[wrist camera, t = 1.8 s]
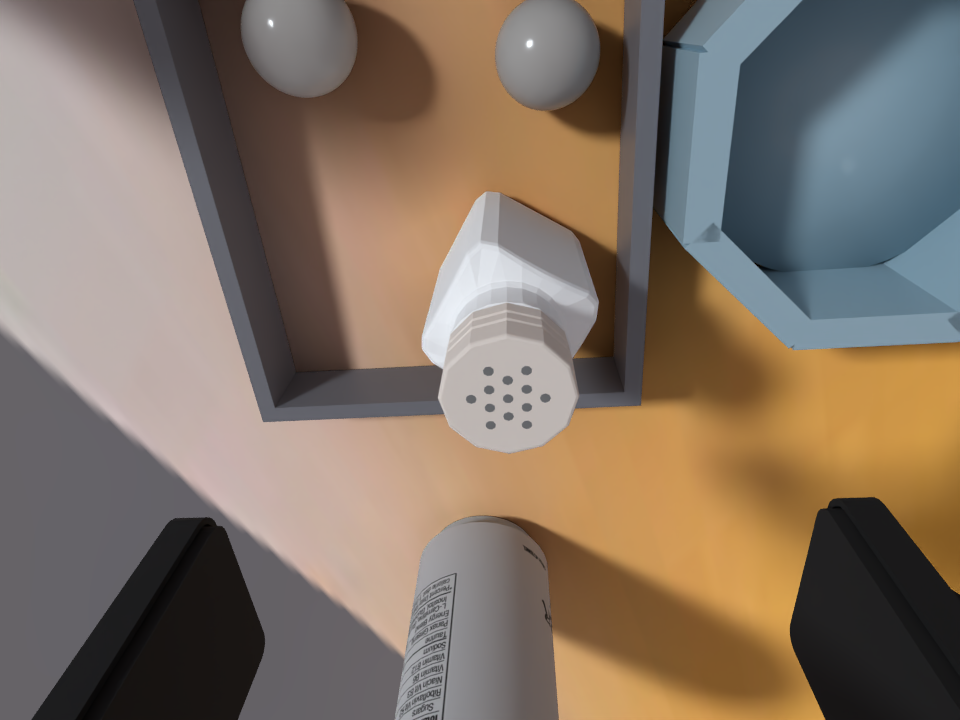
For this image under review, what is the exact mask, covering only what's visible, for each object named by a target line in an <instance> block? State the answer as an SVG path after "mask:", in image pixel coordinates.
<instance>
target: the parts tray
mask: <svg viewBox="0 0 960 720" xmlns="http://www.w3.org/2000/svg"><path fill="white" fill-rule="evenodd" d="M133 1H134V4H135V7H136V11H137V14H138V17H139V20H140V24H141V27H142V30H143V33H144V37H145V40H146V43H147V46H148V50H149V53H150V56H151V59H152V63H153V66H154V69H155V72H156V76H157V79H158V82H159V85H160V89H161V92H162V95H163V98H164V102H165V105H166V108H167V111H168V115H169V118H170V121H171V124H172V128H173V131H174V134H175V137H176V141H177V144H178V147H179V150H180V154H181V157H182V160H183V163H184V167H185V170H186V173H187V176H188V180H189V183H190V186H191V189H192V192H193V196H194V199H195V202H196V205H197V209H198V212H199V215H200V218H201V222H202V225H203V228H204V231H205V235H206V238H207V241H208V244H209V248H210V251H211V254H212V257H213V261H214V264H215V267H216V270H217V274H218V277H219V280H220V283H221V287H222V290H223V293H224V296H225V300H226V303H227V306H228V309H229V313H230V316H231V319H232V322H233V326H234V329H235V332H236V335H237V339H238V342H239V345H240V348H241V352H242V355H243V358H244V361H245V365H246V368H247V371H248V374H249V377H250V381H251V384H252V387H253V390H254V394H255V397H256V400H257V403H258V407H259V410H260V413H261V416H262V420H263V422H276V421H298V420H321V419H344V418H366V417H389V416H412V415H435V414H444V412H443V409H442V407H441V404H440V402H439V400H438V394H439V389H440V383H441V378H442V372H443V369H442V368H440V367H439V366H437V365H436V366H415V367H395V368H375V369H355V370H335V371H315V372H296V370H295V367H294V363H293V359H292V355H291V351H290V348H289V344H288V340H287V336H286V332H285V329H284V325H283V321H282V317H281V313H280V310H279V306H278V302H277V298H276V294H275V291H274V287H273V283H272V279H271V275H270V272H269V268H268V264H267V260H266V256H265V253H264V249H263V245H262V241H261V237H260V234H259V230H258V226H257V222H256V218H255V215H254V211H253V207H252V203H251V199H250V196H249V192H248V188H247V184H246V181H245V177H244V173H243V169H242V165H241V162H240V158H239V154H238V150H237V146H236V143H235V139H234V135H233V131H232V127H231V124H230V120H229V116H228V112H227V108H226V105H225V101H224V97H223V93H222V89H221V86H220V82H219V78H218V74H217V70H216V67H215V63H214V59H213V55H212V51H211V48H210V44H209V40H208V36H207V32H206V29H205V25H204V21H203V17H202V13H201V10H200V6H199V2H198V0H133ZM664 9H665V0H625V7H624V39H623V70H622V102H621V134H620V165H619V197H618V228H617V260H616V292H615V323H614V355H613V357H596V358H576V359H572V360H573V365H574V370H575V375H576V381H577V386H578V391H579V398H578V401H577V404H576V406H575V408H594V407H616V406H639V405H641V395H642V378H643V362H644V345H645V328H646V311H647V294H648V278H649V261H650V244H651V227H652V210H653V193H654V177H655V160H656V143H657V126H658V109H659V93H660V76H661V59H662V42H663V25H664Z"/></svg>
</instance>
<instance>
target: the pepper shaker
mask: <svg viewBox="0 0 960 720" xmlns="http://www.w3.org/2000/svg"><path fill="white" fill-rule="evenodd" d="M598 304H599V300H598V297H597V294H596V291H595V288H594V285H593V282H592V279H591V276H590V273H589V269H588V266H587V263H586V260H585V257H584V254H583V251H582V248H581V245H580V241H579V240H578V239H577V237H576V236H575V235H574V234H573V232H572V231H570V230H568V229H567V228H565V227H563V226H561V225H559V224H557V223H555V222H554V221H552V220H550V219H548V218H546V217H544V216H542V215H541V214H539V213H537V212H535V211H533V210H531V209H529V208H528V207H526V206H524V205H522V204H520V203H518V202H516V201H515V200H513V199H511V198H509V197H507V196H505V195H503V194H502V193H499V192H488V191H486V192H485V193H484V194H482V195H481V196H480V197H479V198H478V199H476V201H475V203H474V205H473V206H472V208H471V210H470V212H469V214H468V216H467V218H466V220H465V222H464V224H463V226H462V228H461V230H460V231H459V233H458V235H457V237H456V239H455V241H454V243H453V245H452V247H451V249H450V251H449V253H448V255H447V257H446V258H445V260H444V262H443V264H442V266H441V268H440V271H439V275H438V278H437V282H436V286H435V290H434V293H433V297H432V301H431V304H430V308H429V312H428V316H427V319H426V323H425V327H424V330H423V334H422V350H423V351H424V352H425V354H426V355H427V356H428V358H429V359H430V360H431V362H432V363H434V364H435V365H437V366H439V367H440V368H442V369H443V372H442V378H441V383H440V389H439V394H438V400H439V402H440V404H441V407H442V409H443V412H444V414H445V417H446V419H447V421H448V424H449V426H450V427H451V428H452V429H453V430H454V431H456V432H457V433H458V434H460V435H461V436H462V437H464V438H465V439H466V440H468V441H469V442H470V443H472V444H473V445H474V446H476V447H479V448H484V449H489V450H494V451H499V452H504V453H509V454H510V453H515V452H519V451H523V450H528V449H532V448H537V447H541V446H544V445H545V444H546V443H547V442H549V441H550V440H551V439H552V438H554V437H555V436H556V435H557V434H559V433H560V432H561V431H562V430H563V429H565V428H566V427H567V426H568V425H569V423H570V420H571V417H572V415H573V412H574V409H575V406H576V404H577V401H578V398H579V391H578V386H577V381H576V375H575V370H574V365H573V360H572V359H573V357H574V355H575V354H576V352H577V351H578V349H579V348H580V346H581V345H582V343H583V342H584V340H585V338H586V337H587V335H588V333H589V332H590V330H591V328H592V326H593V325H594V323H595V321H596V318H597V311H598Z"/></svg>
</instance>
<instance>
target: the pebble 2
mask: <svg viewBox="0 0 960 720" xmlns="http://www.w3.org/2000/svg"><path fill="white" fill-rule="evenodd" d="M599 60H600V39H599V34H598V30H597V27H596V25H595V23H594V21H593V19H592V17H591V16H590V14H589V13H588V12H587V11H586V9H585V8H584V7H582V6H581V5H580V4H579V3H578V2H576V1H575V0H525V1H524V2H522V3H521V4H519V5H518V6H517V7H516V8H515V9H514V10H513V11H512V12H511V13H510V14H509V15H508V17H507V18H506V20H505V21H504V23H503V25H502V27H501V29H500V31H499V34H498V37H497V42H496V48H495V63H496V69H497V73H498V76H499V78H500V81H501V83H502V85H503V87H504V88H505V89H506V91H507V92H508V93H509V95H510V96H511V97H512V98H513V99H515V100H516V101H517V102H518V103H520V104H522V105H523V106H525V107H528V108H530V109H534V110H539V111H551V110H557V109H560V108H563V107H565V106H568V105H569V104H571V103H573V102H574V101H576V100H577V99H578V98H579V97H580V96H581V95H582V94H583V93H584V92H585V91H586V90H587V88H588V87H589V86H590V84H591V82H592V81H593V79H594V77H595V74H596V72H597V69H598V65H599Z"/></svg>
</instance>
